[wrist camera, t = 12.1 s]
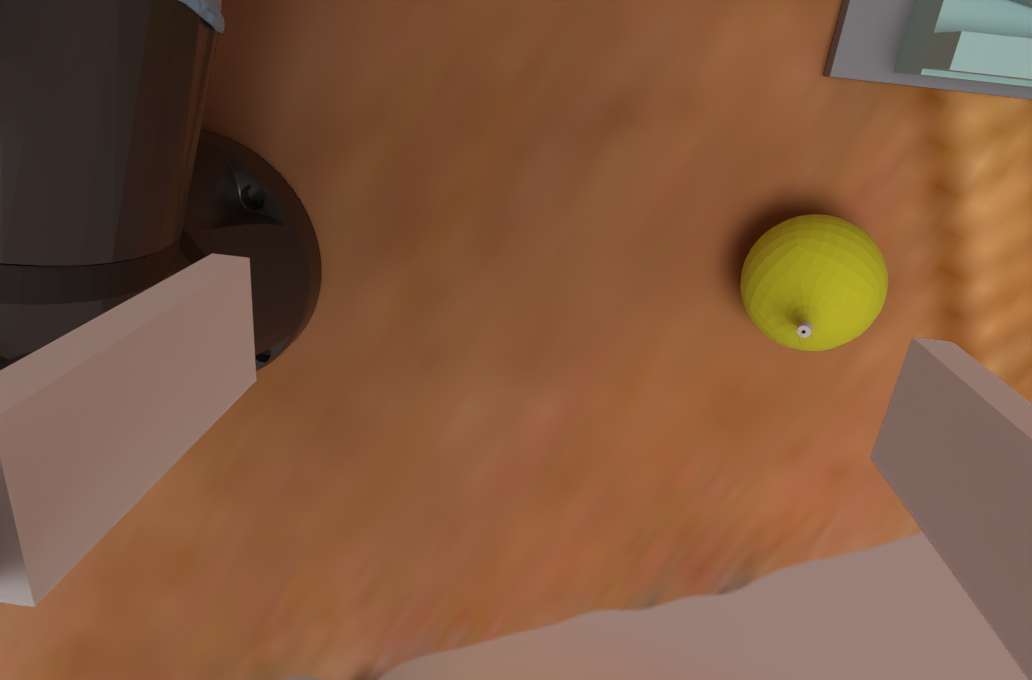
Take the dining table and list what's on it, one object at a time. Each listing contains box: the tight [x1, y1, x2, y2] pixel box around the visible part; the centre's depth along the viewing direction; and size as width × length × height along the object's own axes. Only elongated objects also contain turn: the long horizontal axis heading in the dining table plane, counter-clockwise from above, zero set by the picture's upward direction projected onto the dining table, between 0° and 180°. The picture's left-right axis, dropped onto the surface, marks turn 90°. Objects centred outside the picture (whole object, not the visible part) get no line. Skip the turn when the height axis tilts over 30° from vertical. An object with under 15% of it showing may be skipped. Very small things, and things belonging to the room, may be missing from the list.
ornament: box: [740, 214, 888, 351], centre depth 35 cm, size 7×7×10 cm
